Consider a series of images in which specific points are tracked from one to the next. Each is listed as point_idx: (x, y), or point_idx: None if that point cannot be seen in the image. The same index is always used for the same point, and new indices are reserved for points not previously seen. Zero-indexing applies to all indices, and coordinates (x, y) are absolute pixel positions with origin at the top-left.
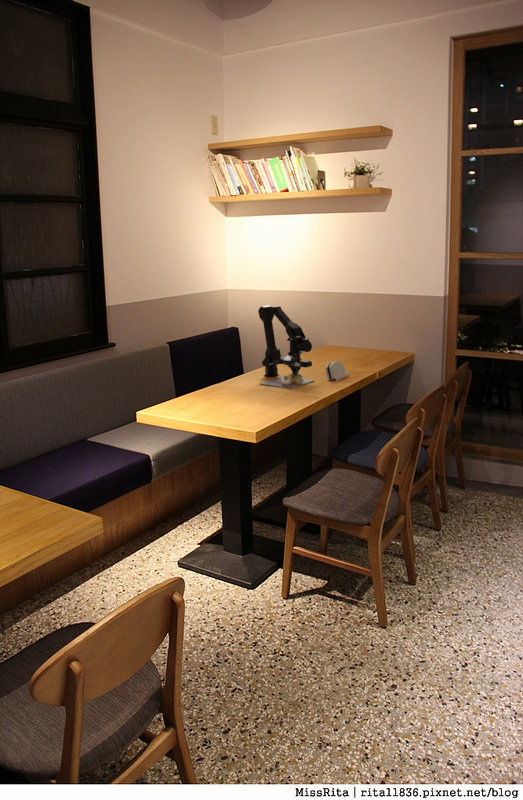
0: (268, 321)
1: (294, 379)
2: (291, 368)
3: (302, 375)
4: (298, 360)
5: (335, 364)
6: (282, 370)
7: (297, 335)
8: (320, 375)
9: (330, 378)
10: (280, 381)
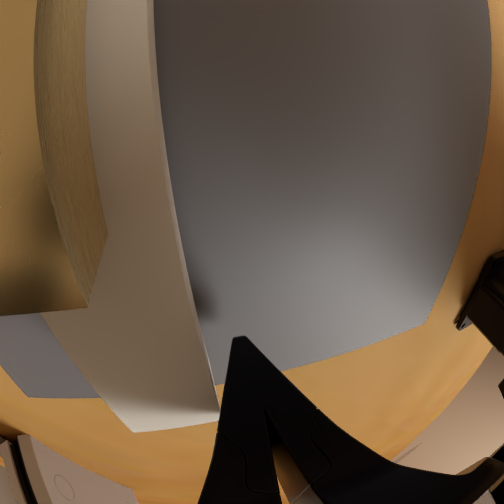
0: None
1: None
2: (367, 477)
3: (129, 421)
4: None
5: None
6: (441, 381)
7: None
8: (193, 467)
9: (18, 446)
10: (374, 72)
